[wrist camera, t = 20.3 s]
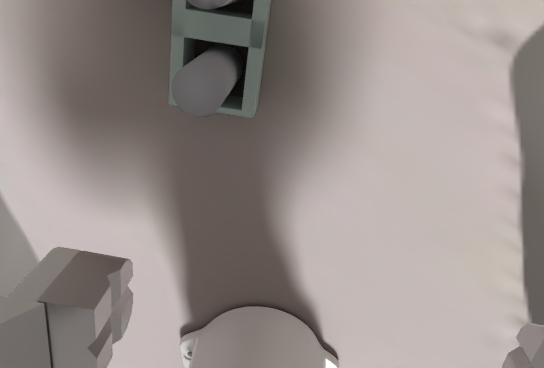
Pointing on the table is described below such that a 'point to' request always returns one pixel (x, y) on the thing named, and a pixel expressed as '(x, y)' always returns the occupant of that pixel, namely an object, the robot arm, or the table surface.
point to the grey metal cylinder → (210, 3)
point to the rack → (216, 58)
